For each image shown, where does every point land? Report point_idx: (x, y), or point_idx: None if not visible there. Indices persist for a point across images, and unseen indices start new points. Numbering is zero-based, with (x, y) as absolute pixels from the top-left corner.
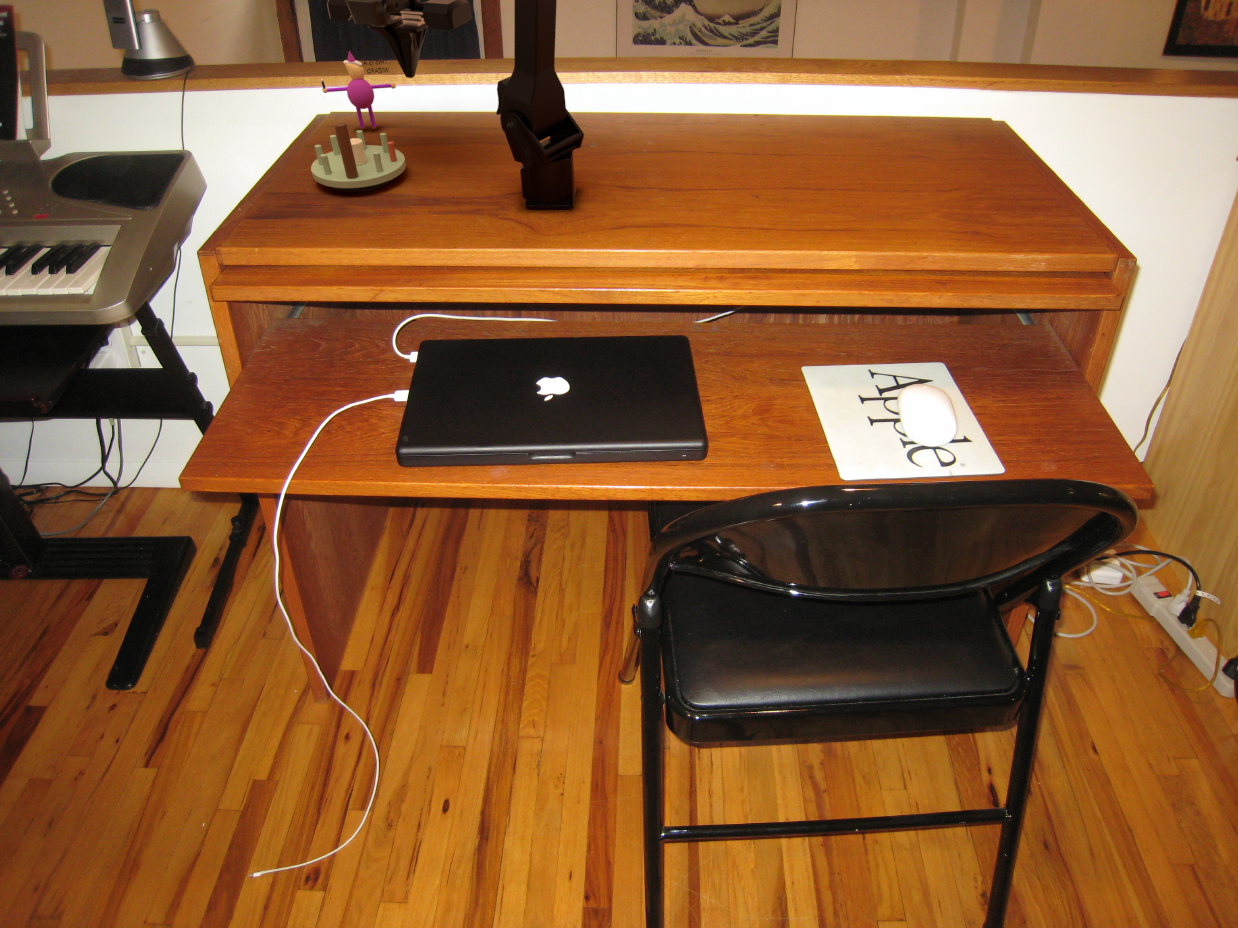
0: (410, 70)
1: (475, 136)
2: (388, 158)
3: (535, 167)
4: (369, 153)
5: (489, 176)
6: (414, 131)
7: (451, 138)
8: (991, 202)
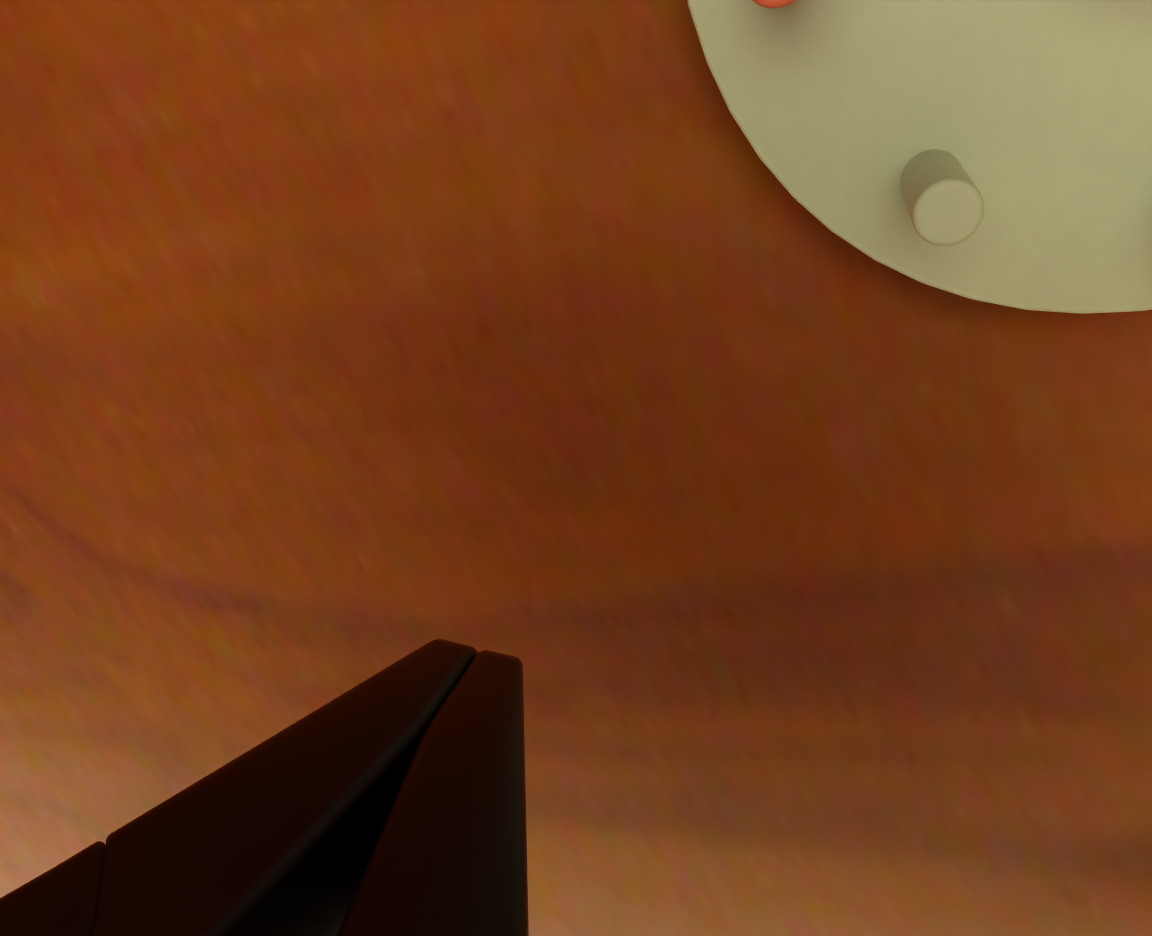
0: (363, 692)
1: (524, 718)
2: (860, 24)
3: None
4: (1099, 107)
5: (160, 144)
6: (939, 790)
7: (653, 692)
8: None
